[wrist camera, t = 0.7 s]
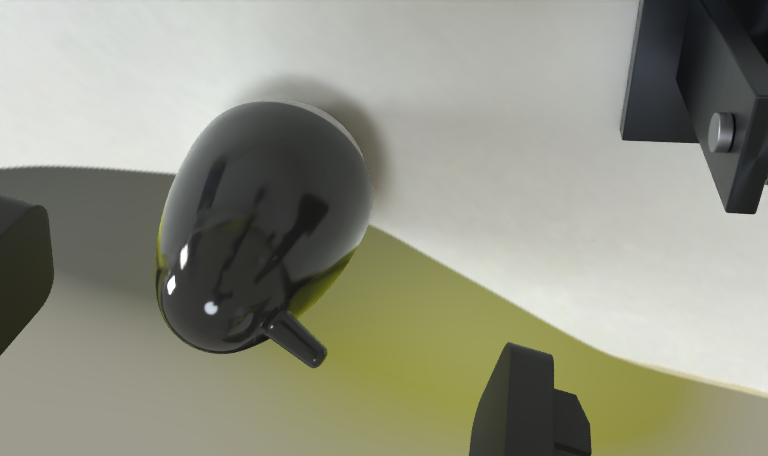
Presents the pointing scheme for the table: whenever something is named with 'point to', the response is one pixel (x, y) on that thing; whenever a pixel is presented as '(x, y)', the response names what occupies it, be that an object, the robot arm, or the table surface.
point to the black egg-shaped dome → (260, 227)
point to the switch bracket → (704, 88)
